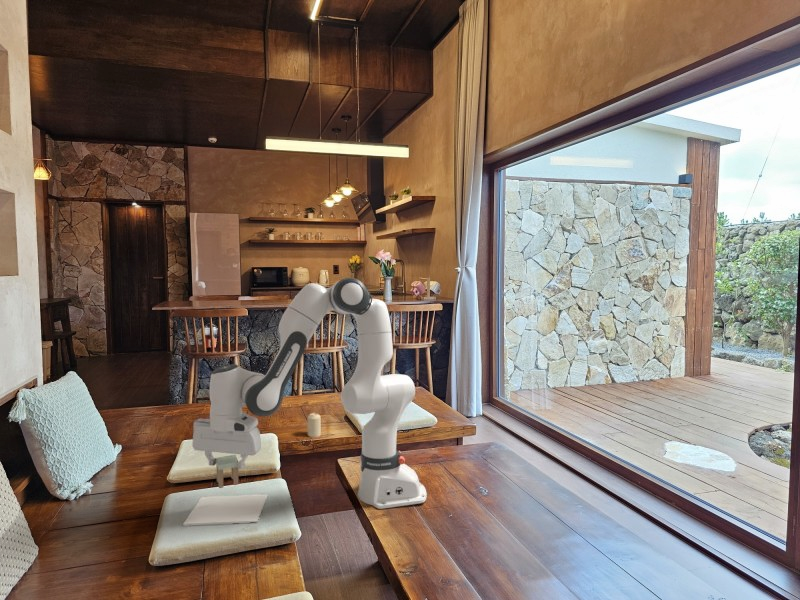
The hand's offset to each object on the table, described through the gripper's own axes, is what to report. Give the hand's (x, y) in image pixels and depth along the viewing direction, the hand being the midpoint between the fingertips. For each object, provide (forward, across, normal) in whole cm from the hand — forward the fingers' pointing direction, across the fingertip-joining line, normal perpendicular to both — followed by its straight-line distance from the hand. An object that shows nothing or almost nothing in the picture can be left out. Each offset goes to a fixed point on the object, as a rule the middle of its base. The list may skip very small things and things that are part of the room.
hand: (226, 466), depth 144 cm
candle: (+14, +4, +63) cm, 64 cm away
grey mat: (+13, +1, -1) cm, 13 cm away
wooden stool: (+5, 0, 0) cm, 5 cm away
